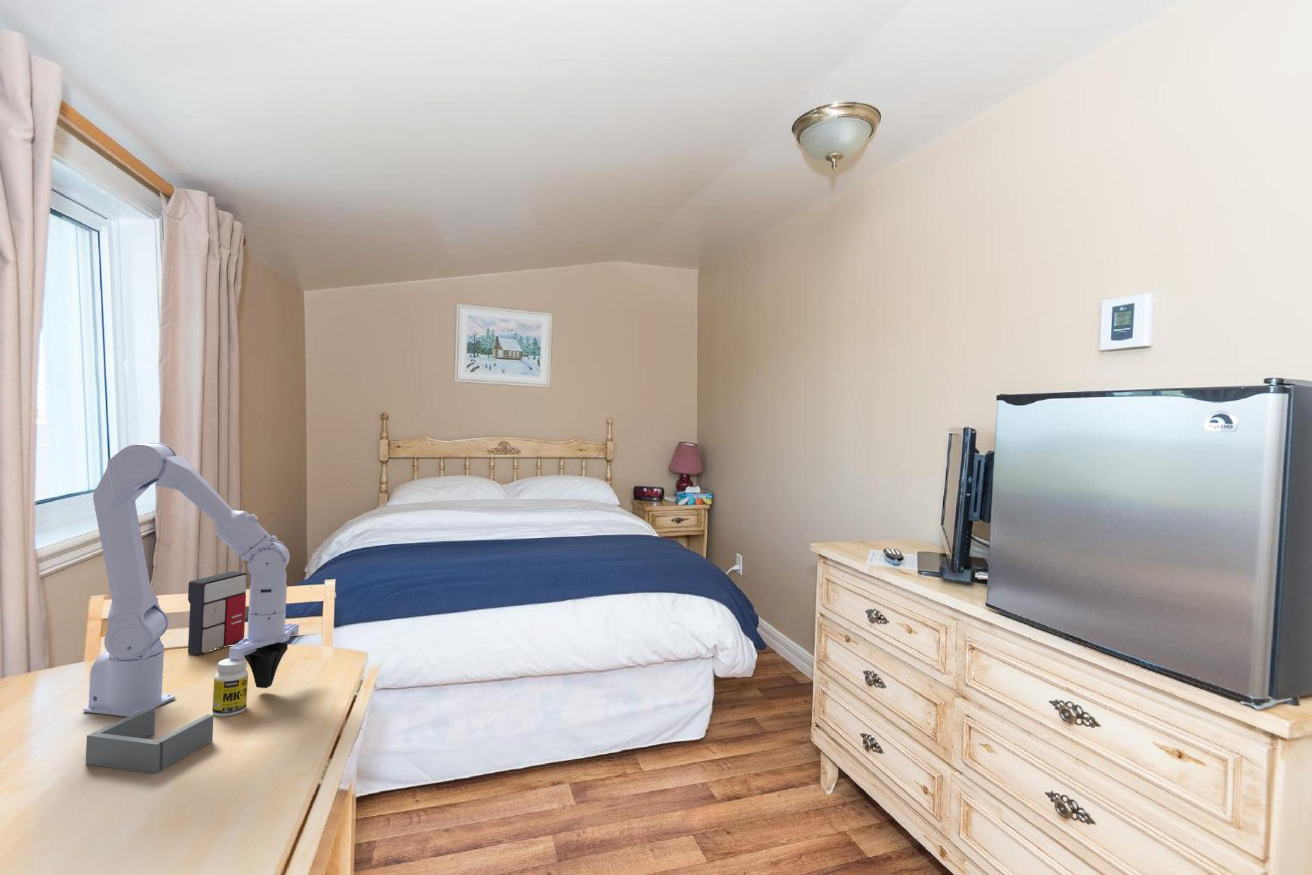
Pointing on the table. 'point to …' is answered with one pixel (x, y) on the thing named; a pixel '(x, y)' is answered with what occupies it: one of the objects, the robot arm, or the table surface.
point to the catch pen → (145, 743)
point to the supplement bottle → (230, 688)
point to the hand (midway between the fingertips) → (263, 686)
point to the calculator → (216, 611)
